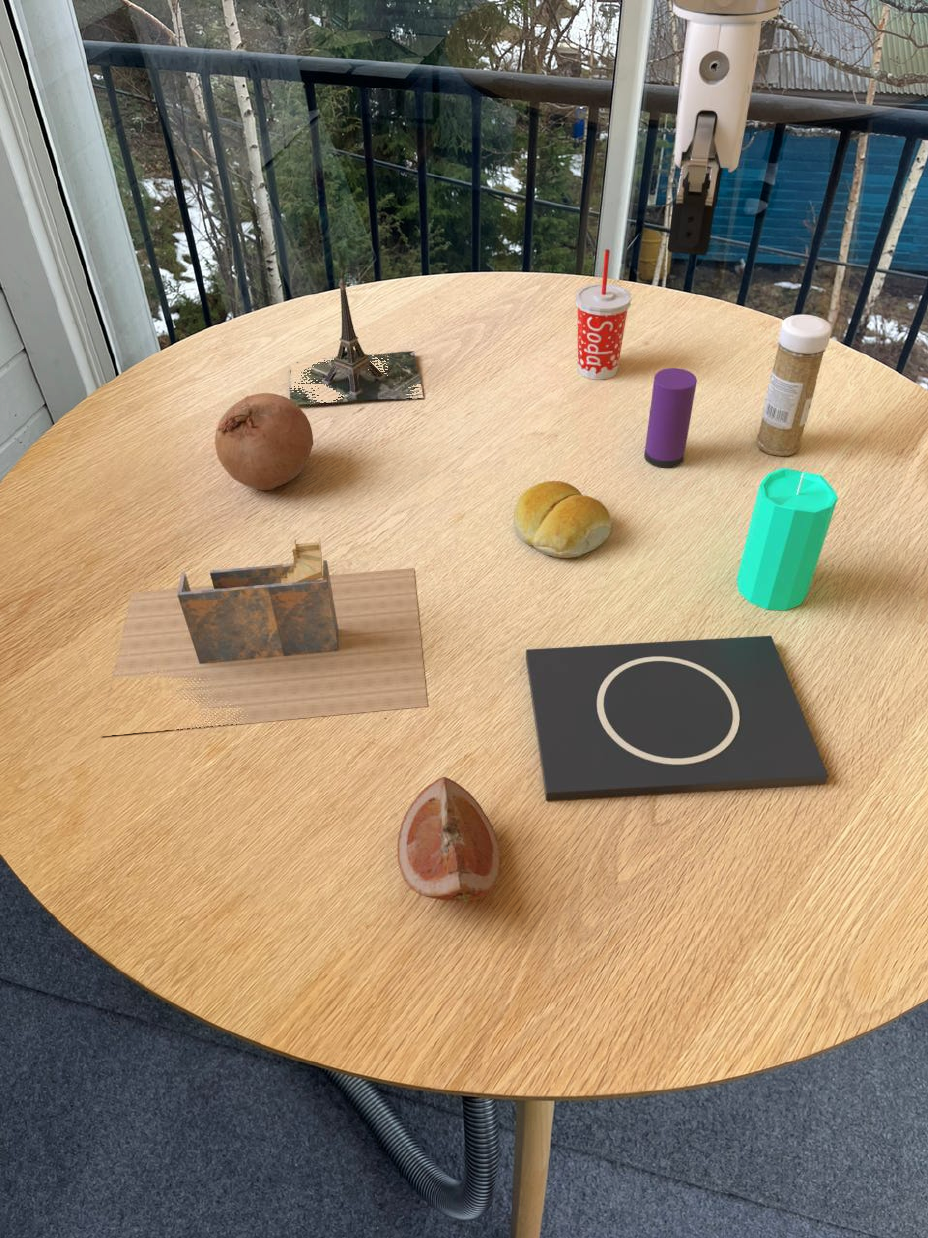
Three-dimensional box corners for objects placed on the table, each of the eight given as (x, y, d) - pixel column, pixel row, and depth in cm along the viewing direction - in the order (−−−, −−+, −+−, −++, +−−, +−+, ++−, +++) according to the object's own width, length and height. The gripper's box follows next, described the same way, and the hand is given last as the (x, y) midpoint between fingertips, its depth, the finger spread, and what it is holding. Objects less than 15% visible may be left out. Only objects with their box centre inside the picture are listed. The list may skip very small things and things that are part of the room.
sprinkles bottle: (809, 450, 96) (843, 328, 87) (773, 462, 95) (804, 339, 85) (779, 428, 99) (809, 308, 90) (745, 440, 98) (771, 318, 88)
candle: (803, 617, 79) (840, 503, 71) (731, 601, 80) (758, 488, 72) (810, 572, 83) (846, 459, 74) (741, 558, 84) (768, 446, 76)
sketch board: (769, 643, 77) (771, 634, 76) (825, 784, 67) (829, 775, 66) (525, 657, 76) (525, 648, 76) (546, 801, 66) (546, 792, 66)
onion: (259, 523, 95) (210, 472, 86) (232, 455, 99) (182, 400, 90) (341, 477, 94) (300, 422, 85) (311, 411, 98) (268, 352, 89)
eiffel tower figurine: (416, 354, 112) (409, 243, 103) (424, 398, 105) (417, 283, 96) (290, 365, 111) (271, 253, 102) (290, 410, 104) (269, 295, 95)
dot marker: (678, 444, 98) (691, 366, 91) (687, 467, 95) (701, 387, 88) (640, 446, 97) (650, 368, 91) (648, 469, 95) (659, 390, 88)
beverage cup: (560, 373, 108) (567, 254, 99) (587, 351, 112) (595, 233, 102) (607, 388, 106) (619, 267, 96) (633, 365, 109) (646, 246, 100)
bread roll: (555, 491, 92) (557, 457, 90) (623, 534, 87) (627, 499, 85) (492, 526, 89) (492, 492, 86) (559, 573, 84) (562, 538, 81)
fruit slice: (510, 921, 60) (511, 880, 56) (405, 935, 59) (400, 895, 56) (490, 811, 66) (490, 768, 62) (395, 823, 65) (389, 781, 62)
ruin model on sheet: (413, 568, 85) (406, 479, 78) (427, 706, 73) (420, 616, 66) (131, 592, 83) (99, 504, 76) (100, 737, 71) (58, 649, 65)
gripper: (779, 19, 61) (731, 276, 73) (784, -35, 72) (743, 194, 84) (661, 14, 62) (634, 267, 74) (686, -38, 74) (659, 187, 86)
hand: (692, 228), depth 79 cm, fingers open, 9 cm apart
